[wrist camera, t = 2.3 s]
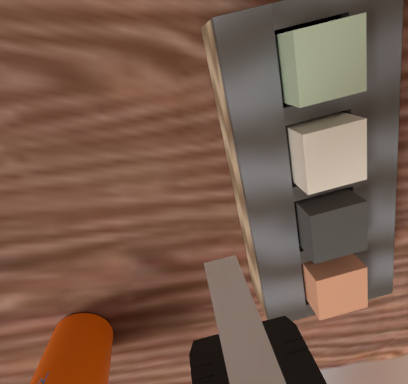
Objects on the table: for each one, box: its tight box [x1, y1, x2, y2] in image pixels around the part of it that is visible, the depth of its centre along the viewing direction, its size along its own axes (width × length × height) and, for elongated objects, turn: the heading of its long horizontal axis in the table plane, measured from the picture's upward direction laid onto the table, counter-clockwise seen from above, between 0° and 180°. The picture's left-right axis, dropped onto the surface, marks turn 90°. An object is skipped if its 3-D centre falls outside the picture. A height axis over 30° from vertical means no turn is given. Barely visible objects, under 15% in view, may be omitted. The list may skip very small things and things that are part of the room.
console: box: [201, 0, 404, 321], centre depth 30 cm, size 30×14×6 cm, turn 13°
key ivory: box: [285, 112, 367, 195], centre depth 25 cm, size 5×5×4 cm
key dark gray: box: [294, 188, 367, 264], centre depth 28 cm, size 5×5×4 cm
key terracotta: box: [301, 254, 368, 320], centre depth 31 cm, size 5×5×4 cm
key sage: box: [275, 12, 367, 108], centre depth 23 cm, size 5×5×4 cm
